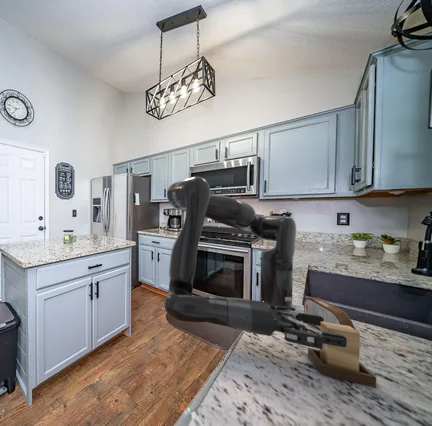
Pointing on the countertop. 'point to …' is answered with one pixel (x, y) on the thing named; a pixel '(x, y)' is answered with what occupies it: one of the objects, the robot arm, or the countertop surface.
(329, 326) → the block
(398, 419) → the countertop surface
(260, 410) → the countertop surface
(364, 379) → the frame
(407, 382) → the countertop surface
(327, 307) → the tin
